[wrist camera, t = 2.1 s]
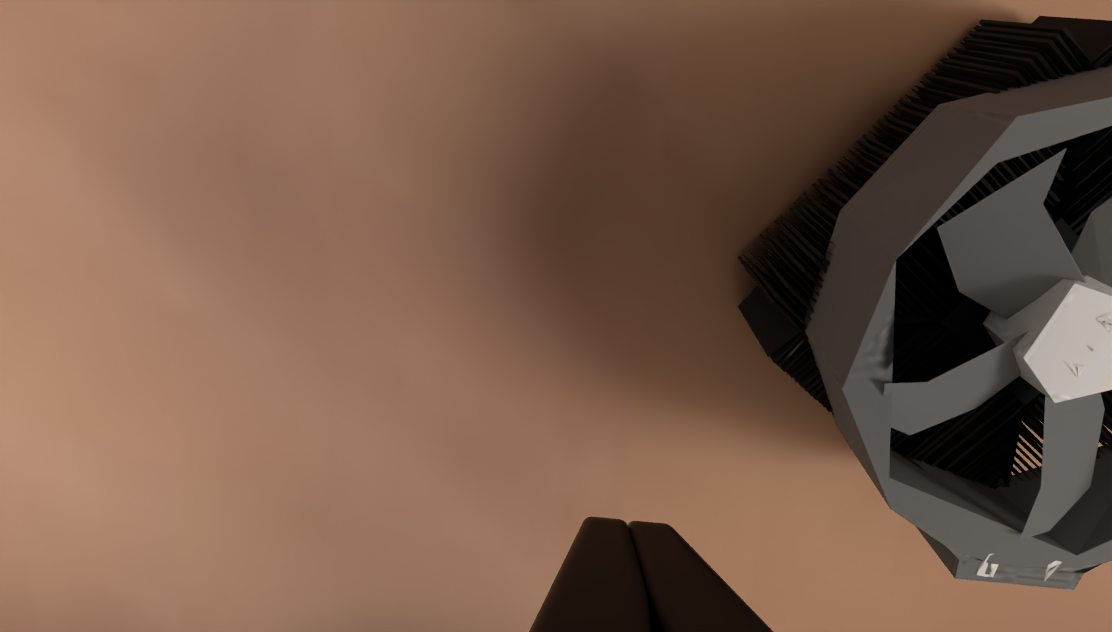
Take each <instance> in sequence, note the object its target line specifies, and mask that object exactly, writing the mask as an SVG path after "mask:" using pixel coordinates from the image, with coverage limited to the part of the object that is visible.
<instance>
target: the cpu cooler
mask: <svg viewBox="0 0 1112 632" xmlns="http://www.w3.org/2000/svg"><path fill="white" fill-rule="evenodd" d="M979 23H980V24H981V25H982V26H978V25H976V26H975V27H974V29H975V30H976V31H970V32H969V33H968V34H969V35H970V36H971V37H967V36H964V37H963V38H962V39H963V40H964V42H960V43H961V44H962V45H963V47H964V48H965V49H966V50H965V49H958V48H953V49H954V50H955V51H956V52H957V53H958V54H957V53H952V52H948V53H947V54H946V55H947V56H948V57H949V58H950V59H949V58H944V57H943V58H942V59H941V61H942V62H943V63H939V62H938V63H937V64H936V66H937V67H938V68H939V70H940V71H937V70H932V69H931V70H932V71H933V72H934V73H935V74H936V75H935V74H930V73H926V74H925V77H926V78H927V79H928V80H929V81H930V82H931V83H928V82H923V81H920V82H921V83H922V84H923V86H924V87H925V88H924V87H919V86H915V85H914V86H915V87H916V88H917V89H918V90H919V91H918V90H915V89H912V88H911V89H912V90H913V91H914V92H915V93H916V94H917V96H918V97H919V98H920V99H921V100H919V99H917V98H914V97H911V96H908V95H906V97H907V98H908V99H909V100H910V101H911V102H910V101H907V100H904V99H900V100H899V101H898V102H899V103H900V104H901V105H902V106H900V105H897V104H894V105H893V107H894V108H895V110H896V111H897V112H898V113H899V114H900V115H897V114H894V113H891V112H889V113H890V114H891V115H892V116H893V117H891V116H889V115H886V114H884V115H883V116H882V117H883V118H884V119H885V120H886V121H887V122H888V123H887V122H885V121H882V120H880V119H879V120H878V121H877V122H878V123H879V124H880V125H881V127H882V128H883V129H884V130H885V131H886V132H885V131H883V130H880V129H878V128H876V127H874V128H875V130H876V131H877V132H878V133H879V134H880V135H881V136H880V135H878V134H875V133H873V132H871V131H870V132H871V133H872V135H873V136H874V137H875V138H876V139H877V140H878V141H877V140H875V139H873V138H871V137H869V136H868V135H866V134H864V135H863V136H862V137H863V138H864V139H865V140H866V141H867V142H868V143H867V142H865V141H862V140H860V139H858V140H857V142H858V143H859V145H860V146H861V147H862V148H863V149H864V150H865V151H866V152H865V151H863V150H861V149H858V148H856V147H854V146H853V147H854V148H855V149H856V150H857V151H858V152H859V153H860V155H861V156H860V155H858V154H856V153H854V152H852V151H850V150H849V151H850V152H851V153H852V154H853V155H854V156H855V157H856V158H857V159H858V161H859V162H860V163H861V164H862V165H863V166H862V165H860V164H858V163H856V162H854V161H852V160H850V159H848V158H846V157H844V156H843V157H844V158H845V159H846V160H847V161H848V162H849V164H850V165H851V166H852V167H853V168H854V169H855V170H854V169H852V168H850V167H848V166H846V165H844V164H842V163H840V162H839V163H840V164H841V165H842V166H843V167H844V168H845V169H846V170H847V171H848V172H849V173H850V174H851V175H850V174H849V173H847V172H846V171H844V170H843V169H841V168H840V167H838V166H837V165H836V166H837V167H838V168H839V170H840V171H841V172H842V173H843V174H844V175H845V176H846V177H847V178H848V179H849V180H848V179H846V178H845V177H843V176H842V175H840V174H838V173H837V172H835V171H834V170H832V169H831V168H829V169H828V170H827V171H828V172H829V173H830V174H831V175H832V176H833V177H834V178H835V179H836V180H837V181H836V180H835V179H833V178H832V177H830V176H829V175H827V174H826V173H825V174H826V175H827V176H828V177H829V178H830V179H831V180H832V181H833V182H834V183H835V184H836V185H837V186H838V187H839V188H840V189H841V190H842V191H843V192H844V193H845V194H846V195H847V196H848V197H847V196H846V195H844V194H843V193H841V192H840V191H839V190H837V189H836V188H834V187H833V186H831V185H830V184H828V183H827V182H826V181H824V180H823V179H821V178H820V177H819V178H818V179H817V180H818V181H819V182H820V183H821V184H822V185H823V186H824V187H825V188H826V189H827V190H828V191H829V192H830V193H832V194H833V195H834V196H835V197H836V198H835V197H834V196H833V195H831V194H830V193H828V192H827V191H826V190H824V189H823V188H821V187H820V186H819V185H817V184H816V183H815V182H814V183H813V184H812V185H813V186H814V187H815V188H816V189H817V190H818V191H819V192H820V193H821V194H822V195H823V196H824V197H825V198H826V199H827V200H828V201H829V202H830V203H831V204H832V205H833V206H834V207H835V208H836V209H837V210H838V211H839V212H840V213H839V212H838V211H836V210H835V209H834V208H833V207H832V206H831V205H829V204H828V203H827V202H826V201H825V200H824V199H822V198H821V197H820V196H819V195H818V194H817V193H815V192H814V191H813V190H812V191H813V192H814V193H815V194H816V195H817V196H818V197H819V198H820V199H821V200H822V201H823V202H824V203H825V204H826V205H827V206H828V207H829V208H830V209H831V210H832V211H833V212H834V213H835V214H836V215H837V216H838V218H837V217H836V216H835V215H834V214H832V213H831V212H830V211H828V210H827V209H826V208H825V207H823V206H822V205H821V204H820V203H818V202H817V201H816V200H814V199H813V198H812V197H811V196H809V195H808V194H807V193H805V192H804V193H803V194H802V195H803V196H804V197H805V198H806V199H807V200H808V201H809V202H810V203H811V204H812V205H813V206H815V207H816V208H817V209H818V210H819V211H820V212H821V213H822V214H823V215H824V216H825V217H826V218H827V219H828V220H829V221H830V222H831V223H832V224H833V225H834V226H835V227H833V226H832V225H831V224H830V223H829V222H828V221H827V220H826V219H824V218H823V217H822V216H821V215H820V214H819V213H818V212H816V211H815V210H814V209H813V208H812V207H811V206H810V205H808V204H807V203H806V202H805V201H804V200H803V199H802V198H801V197H799V198H798V200H799V201H800V202H801V203H802V204H803V205H804V206H805V207H806V208H807V209H808V210H809V211H810V212H811V213H812V214H813V215H814V216H815V217H816V218H817V219H818V220H819V221H820V222H821V223H822V224H823V225H824V226H825V227H826V228H827V229H828V230H829V231H830V232H831V233H832V235H831V234H830V233H829V232H828V231H827V230H826V229H825V228H824V227H823V226H822V225H820V224H819V223H818V222H817V221H816V220H815V219H814V218H813V217H812V216H811V215H810V214H809V213H808V212H806V211H805V210H804V209H803V208H802V207H801V206H800V205H799V204H798V203H797V202H796V201H795V202H794V203H793V204H794V205H795V206H796V207H797V208H798V209H799V210H800V211H801V212H802V213H803V214H804V215H805V216H806V217H807V218H808V219H809V220H810V221H811V222H812V223H813V224H814V225H815V226H816V227H817V228H818V229H819V230H820V231H821V232H822V233H823V234H824V235H825V236H827V237H828V238H829V239H830V241H829V240H828V239H827V238H826V237H825V236H824V235H823V234H821V233H820V232H819V231H818V230H817V229H816V228H815V227H814V226H812V225H811V224H810V223H809V222H808V221H807V220H806V219H804V218H803V217H802V216H801V215H800V214H799V213H798V212H797V211H795V210H794V209H793V208H792V207H791V206H790V207H789V208H788V209H789V210H790V211H791V212H792V213H793V214H794V215H795V216H796V217H797V218H798V219H799V220H800V221H801V222H803V223H804V224H805V225H806V226H807V227H808V228H809V229H810V230H811V231H812V232H813V233H814V234H815V235H816V236H817V237H818V238H819V239H820V240H821V241H822V242H823V243H824V244H825V245H826V246H827V247H828V249H827V250H826V249H825V248H824V247H823V246H821V245H820V244H819V243H818V242H817V241H816V240H815V239H813V238H812V237H811V236H810V235H809V234H808V233H807V232H805V231H804V230H803V229H802V228H801V227H800V226H798V225H797V224H796V223H795V222H794V221H793V220H792V219H791V220H792V221H793V222H794V223H795V224H796V225H797V226H798V227H799V228H800V229H801V230H802V231H803V232H804V233H805V234H806V235H807V236H808V237H809V238H810V239H811V240H812V241H813V242H814V243H815V244H816V245H817V246H818V247H819V248H820V249H821V250H822V251H823V252H824V253H825V254H826V255H825V257H824V256H823V255H822V254H821V253H820V252H819V251H818V250H817V249H816V248H815V247H813V246H812V245H811V244H810V243H809V242H808V241H807V240H806V239H805V238H804V237H803V236H802V235H801V234H800V233H799V232H798V231H797V230H796V229H795V228H794V227H793V226H791V225H790V224H789V223H788V222H787V221H786V220H785V219H784V218H783V217H782V216H781V215H780V216H779V217H778V218H779V219H780V220H781V221H783V222H784V223H785V224H786V225H787V226H788V227H789V228H790V229H791V230H792V231H793V232H794V233H795V234H796V235H797V236H798V237H799V238H800V239H801V240H802V241H803V242H804V243H805V244H806V245H807V246H808V247H809V248H810V249H811V250H812V251H813V252H814V253H815V254H816V255H817V256H818V257H820V258H821V259H822V260H823V264H822V263H821V262H820V261H819V260H818V259H817V258H816V257H815V256H814V255H813V254H811V253H810V252H809V251H808V250H807V249H806V248H805V247H804V246H803V245H802V244H801V243H800V242H799V241H798V240H797V239H796V238H795V237H794V236H793V235H792V234H791V233H790V232H789V231H788V230H787V229H786V228H785V227H784V226H783V225H782V224H781V223H779V222H778V221H777V220H775V221H774V222H775V223H776V224H777V225H778V226H779V227H780V228H781V229H782V230H783V231H784V232H785V233H786V234H787V235H788V236H789V237H790V238H791V239H792V240H793V241H794V242H795V243H796V244H797V245H798V246H799V247H800V248H801V249H802V250H803V251H804V252H805V253H806V254H807V255H808V256H809V257H810V258H811V260H812V261H813V262H814V263H816V264H817V265H818V266H819V267H820V268H821V270H818V269H817V268H816V267H815V266H814V265H813V264H812V263H811V262H810V261H809V260H808V259H807V258H805V257H804V256H803V255H802V254H801V253H800V252H799V251H798V250H797V249H796V248H795V247H793V246H792V245H791V244H790V243H789V242H788V241H787V240H786V239H785V238H784V237H783V236H782V235H780V234H779V233H778V232H777V231H776V230H775V229H774V228H773V227H772V228H773V229H774V230H775V231H776V232H777V233H778V234H779V235H780V236H781V237H782V239H783V240H784V241H785V242H786V243H787V244H788V245H789V246H790V247H791V248H792V250H793V251H794V252H795V253H796V254H797V255H798V256H799V257H800V258H801V259H802V261H803V262H804V263H805V264H806V265H807V266H808V267H809V268H810V269H811V270H812V271H813V272H814V273H815V274H816V275H817V276H818V277H817V276H816V275H815V274H814V273H812V272H811V271H810V270H809V269H808V268H807V267H806V266H805V265H804V264H803V263H802V262H801V261H800V260H799V259H798V258H797V257H796V256H795V255H794V254H793V253H792V252H791V251H790V250H789V249H788V248H787V247H785V246H784V245H783V244H782V243H781V242H780V241H779V240H778V239H777V238H776V237H775V236H774V235H773V234H772V233H771V232H770V231H769V230H768V229H766V230H765V232H766V233H767V234H768V235H769V236H770V237H771V238H772V239H773V241H774V242H775V243H776V244H777V245H778V246H779V247H780V248H781V249H782V250H783V251H784V253H785V254H786V255H787V256H788V257H789V258H790V259H791V260H792V261H793V262H794V263H795V264H793V263H792V262H791V261H790V260H789V259H788V258H787V257H786V256H785V255H784V254H783V253H782V252H781V251H780V250H779V249H778V248H777V247H776V246H775V245H774V244H773V243H772V242H771V241H770V240H768V239H767V238H766V237H765V236H764V235H763V234H761V235H760V236H761V237H762V238H763V239H764V240H765V242H766V243H767V244H768V245H769V246H770V247H771V248H772V249H773V250H774V251H775V252H776V253H777V254H778V255H779V256H780V257H781V258H782V259H783V260H784V261H785V262H786V263H787V264H788V265H789V266H790V267H791V268H792V270H793V271H794V272H793V271H792V270H791V269H790V268H789V267H788V266H787V265H786V264H784V263H783V262H782V261H781V260H780V259H778V258H777V257H776V256H775V255H774V254H773V253H771V252H770V251H769V250H768V249H767V248H765V247H764V246H763V245H762V244H761V243H760V242H759V243H760V244H761V245H762V246H763V248H764V249H765V250H766V251H767V252H768V253H769V254H770V255H771V256H772V257H773V258H774V259H775V260H776V261H777V263H778V264H779V265H780V266H781V267H782V268H783V269H784V270H785V271H786V272H787V273H788V274H789V275H790V276H791V277H792V279H791V278H789V277H788V276H787V275H786V274H785V273H784V271H783V270H782V269H781V268H780V267H779V266H777V265H776V264H775V263H774V262H773V261H772V260H771V259H770V258H769V257H768V256H767V255H766V254H764V253H763V252H762V251H761V250H760V249H759V248H758V247H757V246H756V245H755V244H754V243H753V244H754V245H755V246H756V248H757V249H758V251H759V252H760V253H761V255H762V256H763V257H764V259H765V260H766V261H767V263H768V264H769V265H770V267H771V268H772V269H773V270H772V269H771V268H769V267H768V266H767V265H766V264H765V263H763V262H762V261H761V260H760V259H759V258H758V257H756V256H755V255H754V254H753V253H752V252H750V251H749V250H748V251H749V252H750V253H751V254H752V255H753V256H754V258H755V259H756V260H757V261H758V262H759V264H760V265H761V266H762V267H763V268H764V269H765V271H766V272H767V273H768V274H769V275H770V276H771V277H770V276H768V275H767V274H766V273H765V272H764V271H762V270H761V269H760V268H759V267H758V266H757V265H755V264H754V263H753V262H752V261H751V260H749V259H748V258H747V257H746V256H745V255H744V257H745V258H746V259H747V261H748V262H749V263H750V265H751V266H752V268H753V269H754V270H755V271H754V270H753V269H752V268H751V267H750V266H749V265H748V264H747V263H746V262H745V261H744V259H743V258H742V257H741V256H740V255H739V256H738V257H737V258H738V259H739V260H740V262H741V263H742V265H743V266H744V267H745V269H746V270H747V271H748V273H749V274H750V276H751V277H752V278H753V280H754V281H755V282H756V284H757V285H758V286H757V287H756V288H755V289H754V290H753V291H752V292H751V293H750V294H749V295H748V296H747V297H746V298H745V299H744V300H743V301H742V302H741V303H740V305H739V306H738V308H739V309H740V311H741V313H742V314H743V316H744V318H745V319H746V321H747V323H748V324H749V326H750V328H751V329H752V331H753V333H754V334H755V336H756V338H757V339H758V341H759V343H760V344H761V346H762V348H763V349H764V351H765V353H766V354H767V356H768V357H769V356H770V357H771V359H772V361H773V362H774V363H775V364H777V365H778V366H779V367H781V368H782V370H783V371H784V372H785V371H786V373H787V374H788V373H789V375H790V376H791V378H792V377H793V378H794V380H795V381H796V382H797V381H798V383H799V384H800V386H801V387H802V388H804V389H805V390H806V391H807V392H809V394H810V395H811V396H813V397H814V399H816V400H818V401H819V403H822V405H823V406H824V407H826V409H827V410H828V411H829V412H832V414H833V417H834V420H835V423H836V426H837V427H838V429H839V431H840V432H841V434H842V435H843V437H844V438H845V440H846V441H847V443H848V444H849V446H850V447H851V449H852V450H853V452H854V454H855V455H856V457H857V458H858V460H859V461H860V463H861V464H862V466H863V467H864V469H865V470H866V472H867V474H868V475H869V477H870V478H871V480H872V481H873V483H874V484H875V486H876V487H877V489H878V490H879V492H880V494H881V495H882V497H883V498H884V500H885V501H886V503H887V504H888V506H889V507H890V509H891V510H893V511H894V512H896V513H897V514H899V515H900V516H902V517H903V518H905V519H906V520H908V521H909V522H911V523H912V524H914V525H915V526H916V527H917V529H918V530H919V531H920V532H921V534H922V535H923V536H924V538H925V539H926V540H927V542H928V543H929V544H930V546H931V547H932V548H933V550H934V551H935V552H936V554H937V555H938V556H939V558H940V559H941V560H942V562H943V563H944V564H945V566H946V567H947V568H948V570H949V571H950V572H951V574H952V575H953V576H954V578H956V579H967V580H977V581H988V582H998V583H1008V584H1019V585H1029V586H1040V587H1050V588H1060V589H1071V590H1074V589H1075V587H1076V586H1077V584H1078V582H1079V580H1080V579H1081V577H1082V575H1083V574H1084V573H1085V572H1087V571H1089V570H1091V569H1093V568H1095V567H1097V566H1099V565H1101V564H1103V563H1106V562H1109V561H1112V434H1111V433H1110V432H1109V431H1108V429H1107V428H1109V429H1110V430H1111V431H1112V21H1106V20H1091V19H1077V18H1062V17H1047V16H1039V17H1038V18H1037V19H1036V20H1035V21H1034V22H1033V23H1032V24H1028V23H1016V22H1004V21H992V20H981V21H980V22H979ZM784 214H785V213H784ZM785 215H786V214H785ZM786 216H787V215H786ZM755 272H756V273H757V274H758V275H757V274H756V273H755ZM1039 420H1040V421H1041V422H1042V423H1043V424H1044V425H1043V424H1042V423H1041V422H1040V421H1039ZM1022 421H1023V422H1024V423H1025V424H1026V425H1027V426H1028V427H1029V428H1030V429H1032V430H1033V431H1034V432H1035V433H1036V434H1037V435H1038V436H1039V437H1040V438H1041V439H1043V444H1042V443H1041V442H1040V441H1039V440H1038V439H1037V438H1036V437H1035V436H1034V435H1033V434H1032V433H1031V432H1030V431H1029V430H1028V429H1027V428H1026V427H1025V425H1024V424H1023V423H1022ZM1103 424H1104V425H1105V426H1106V427H1107V428H1106V427H1105V426H1104V425H1103ZM1019 434H1020V435H1021V436H1022V437H1023V438H1024V439H1025V440H1026V441H1027V442H1028V443H1029V444H1030V445H1031V446H1032V447H1034V448H1035V449H1036V450H1037V451H1038V452H1039V453H1040V454H1041V455H1042V459H1041V458H1040V457H1039V456H1038V455H1037V454H1036V453H1035V452H1034V451H1033V450H1032V449H1031V448H1030V447H1029V446H1028V445H1027V444H1026V443H1025V442H1024V441H1023V440H1022V439H1021V438H1019ZM1017 442H1019V443H1020V444H1021V445H1022V446H1023V447H1024V448H1025V449H1026V450H1027V451H1028V452H1030V453H1031V454H1032V455H1033V456H1034V457H1035V458H1036V459H1037V460H1038V461H1039V462H1040V463H1041V464H1042V466H1040V467H1039V466H1038V465H1037V464H1036V463H1035V462H1034V461H1033V460H1032V459H1031V458H1030V457H1029V456H1028V455H1027V454H1026V453H1025V452H1024V451H1023V450H1022V449H1021V448H1020V447H1019V446H1018V445H1017ZM1099 442H1100V443H1101V444H1102V445H1103V446H1101V447H1098V443H1099ZM1105 442H1106V443H1107V444H1106V443H1105ZM1037 443H1038V444H1039V445H1040V446H1041V447H1042V448H1043V449H1042V448H1041V447H1040V446H1039V445H1038V444H1037ZM1016 448H1017V449H1018V450H1019V451H1020V452H1021V453H1022V454H1023V455H1024V456H1025V457H1026V458H1027V459H1029V460H1030V461H1031V462H1032V463H1033V464H1034V465H1035V466H1036V467H1037V468H1034V469H1033V468H1032V467H1031V466H1030V465H1029V464H1028V463H1027V462H1026V461H1025V460H1024V459H1023V458H1022V457H1021V456H1020V455H1019V454H1018V453H1016ZM1014 457H1016V458H1017V459H1018V460H1019V461H1020V462H1021V463H1022V464H1024V465H1025V466H1026V467H1027V468H1028V469H1029V470H1028V471H1025V470H1024V469H1023V468H1022V467H1021V466H1020V465H1019V464H1018V463H1017V462H1016V461H1015V459H1014ZM1013 464H1014V465H1015V466H1016V467H1017V468H1018V469H1019V470H1020V471H1021V473H1019V472H1018V471H1017V470H1016V469H1015V468H1014V467H1013ZM1011 472H1013V473H1014V474H1015V475H1012V474H1011Z"/></svg>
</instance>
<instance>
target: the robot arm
mask: <svg viewBox="0 0 1112 632" xmlns="http://www.w3.org/2000/svg"><path fill="white" fill-rule="evenodd" d="M529 632H773V631H772V630H771V629H770V628H769V627H768V626H767V625H766V624H765V623H764V622H763V621H762V620H761V619H760V617H759V616H758V615H757V614H756V613H755V612H754V611H753V610H752V609H751V608H750V607H749V606H748V605H747V604H746V603H745V602H744V601H743V600H742V599H741V598H740V597H739V596H738V595H737V594H736V593H735V592H734V591H733V590H732V589H731V588H730V586H729V585H728V584H727V583H726V582H725V581H724V580H723V579H722V578H721V577H720V576H719V575H718V574H717V573H716V572H715V571H714V570H713V569H712V568H711V567H710V566H709V565H708V564H707V563H706V562H705V561H704V560H703V559H702V558H701V556H700V555H699V554H698V553H697V552H696V551H695V550H694V549H693V548H692V547H691V546H690V545H689V544H688V543H687V542H686V541H685V540H684V539H683V538H682V537H681V536H680V535H679V534H678V533H677V532H676V531H675V530H674V529H673V528H672V527H671V526H670V525H668V524H664V523H653V522H642V521H632V522H630V523H629V524H628V525H627V524H626V522H624V521H623V520H620V519H610V518H600V517H588V518H586V519H585V520H584V522H583V523H582V525H581V527H580V530H579V532H578V534H577V536H576V538H575V540H574V542H573V544H572V546H571V548H570V550H569V552H568V554H567V556H566V558H565V560H564V562H563V564H562V566H561V568H560V570H559V572H558V574H557V576H556V578H555V580H554V582H553V584H552V586H551V588H550V591H549V593H548V595H547V597H546V599H545V601H544V603H543V605H542V607H541V609H540V611H539V613H538V615H537V617H536V619H535V621H534V623H533V625H532V627H531V629H530V631H529Z"/></svg>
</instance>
